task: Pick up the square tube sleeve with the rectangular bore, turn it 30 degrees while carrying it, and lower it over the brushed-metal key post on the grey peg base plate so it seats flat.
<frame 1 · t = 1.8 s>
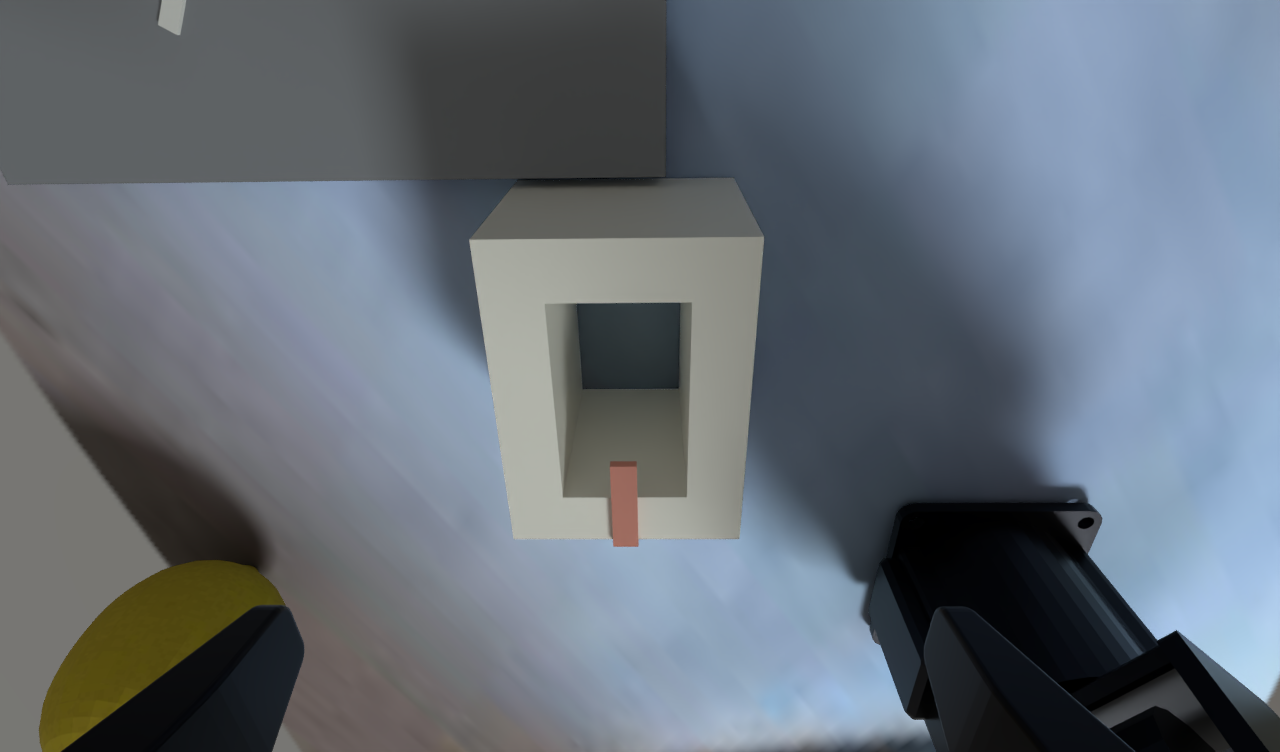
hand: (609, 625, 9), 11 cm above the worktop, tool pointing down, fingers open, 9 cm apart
lemon: (254, 565, 23), on the worktop
square tube sleeve: (628, 314, 18), on the worktop
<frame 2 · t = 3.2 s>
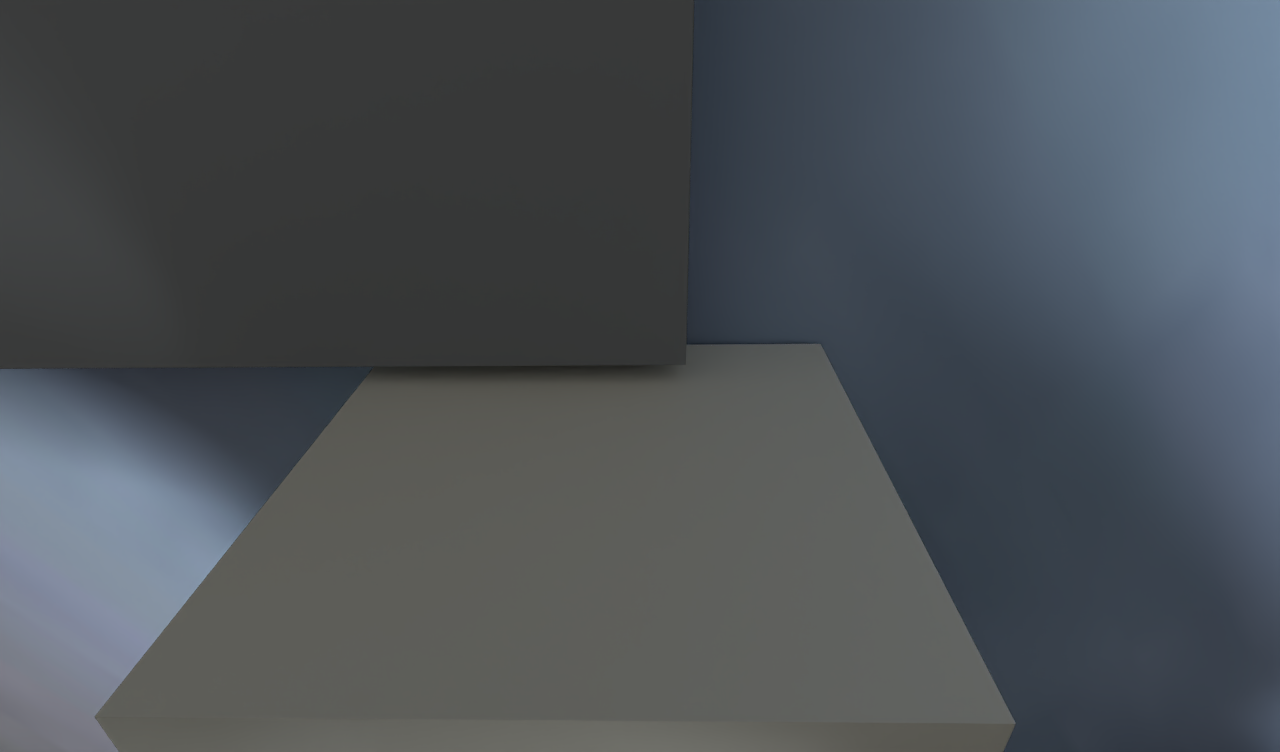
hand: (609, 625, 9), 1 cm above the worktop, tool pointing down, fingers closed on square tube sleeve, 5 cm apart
square tube sleeve: (614, 559, 10), on the worktop, touching gripper
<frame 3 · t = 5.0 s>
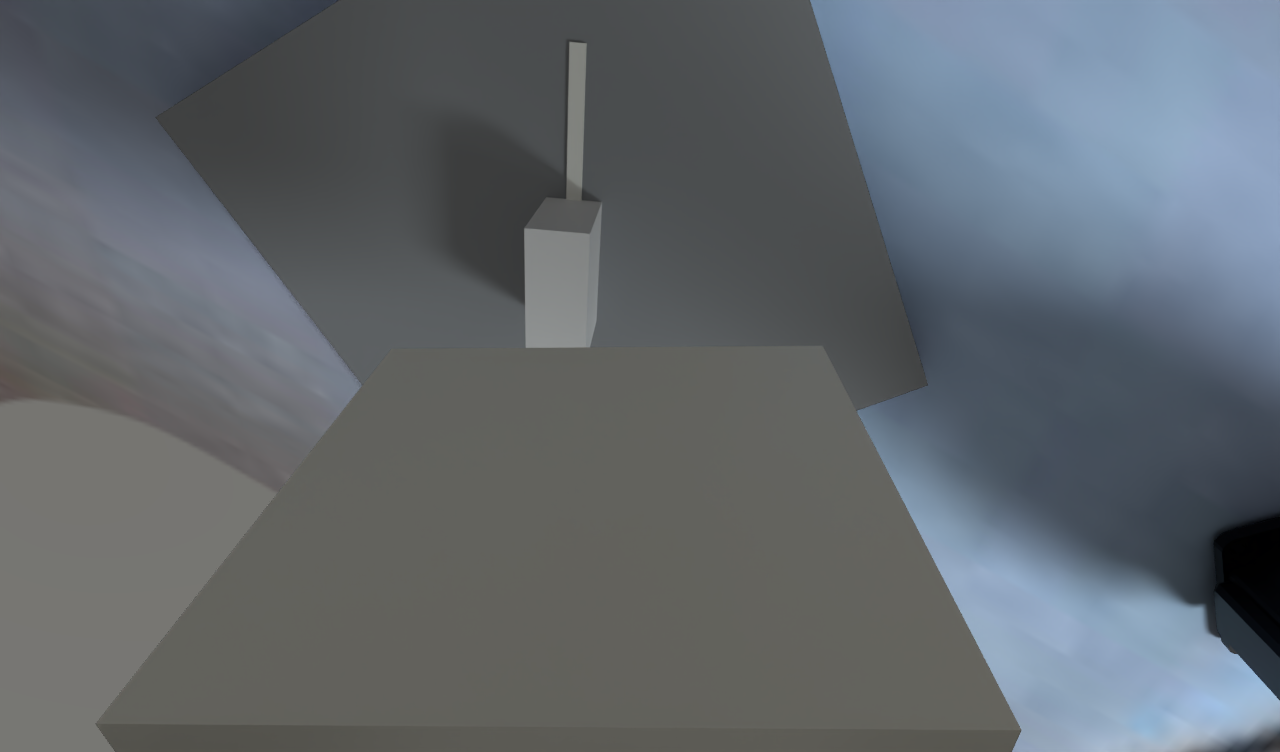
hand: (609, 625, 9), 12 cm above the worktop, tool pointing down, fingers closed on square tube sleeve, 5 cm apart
square tube sleeve: (615, 562, 10), point 11 cm above the worktop, touching gripper
grey peg base plate: (577, 251, 19), on the worktop
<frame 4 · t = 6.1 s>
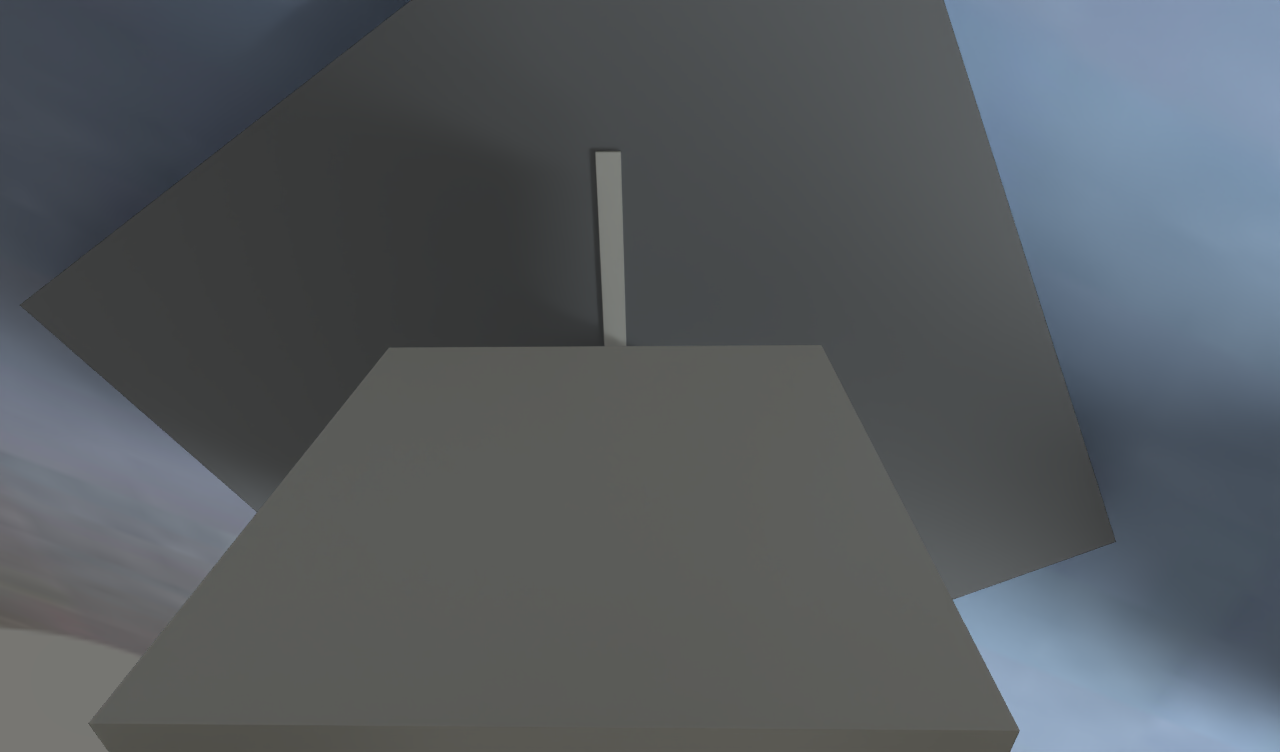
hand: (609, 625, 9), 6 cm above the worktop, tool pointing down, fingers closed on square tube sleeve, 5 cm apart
square tube sleeve: (613, 561, 10), point 4 cm above the worktop, touching gripper
grey peg base plate: (621, 408, 14), on the worktop
when the fingers open (4 cm above the worktop, at t = 6.8 s): square tube sleeve drops 2 cm, resting on grey peg base plate.
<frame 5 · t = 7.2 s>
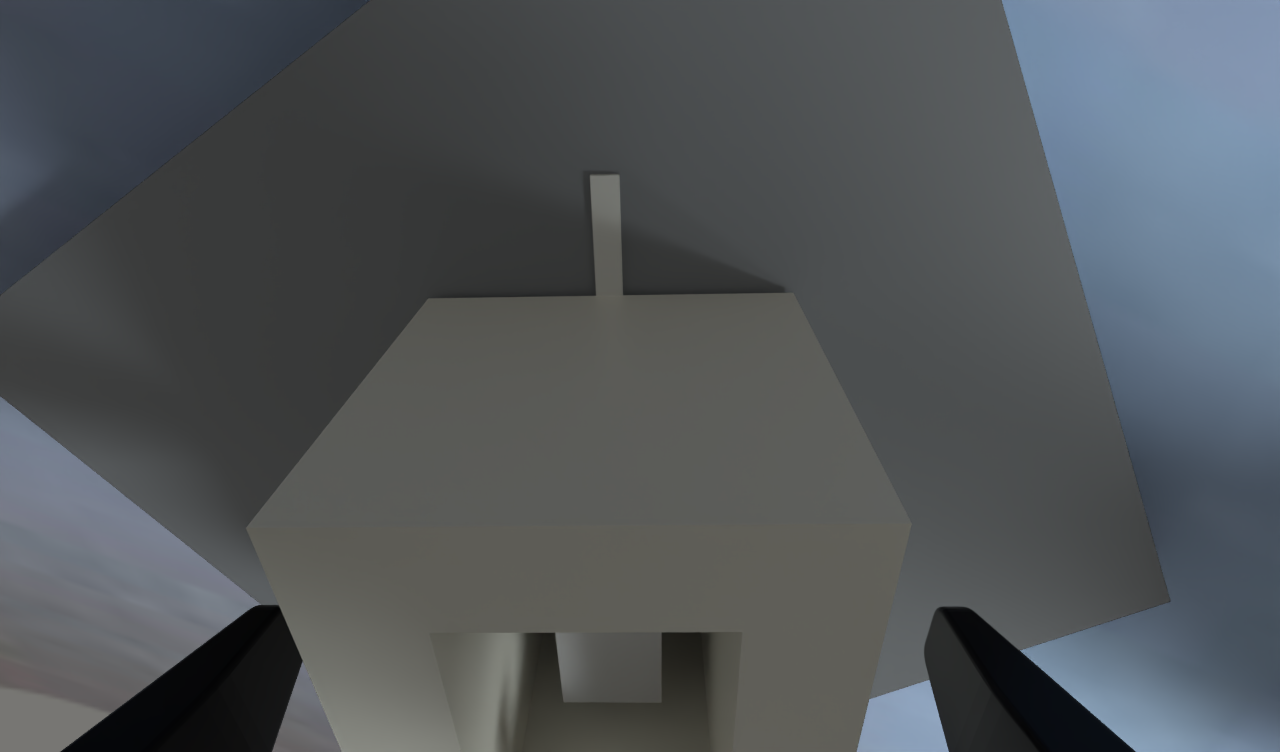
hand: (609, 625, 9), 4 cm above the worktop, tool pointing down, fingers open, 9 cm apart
square tube sleeve: (619, 490, 11), point 1 cm above the worktop, touching grey peg base plate
grey peg base plate: (620, 453, 12), on the worktop
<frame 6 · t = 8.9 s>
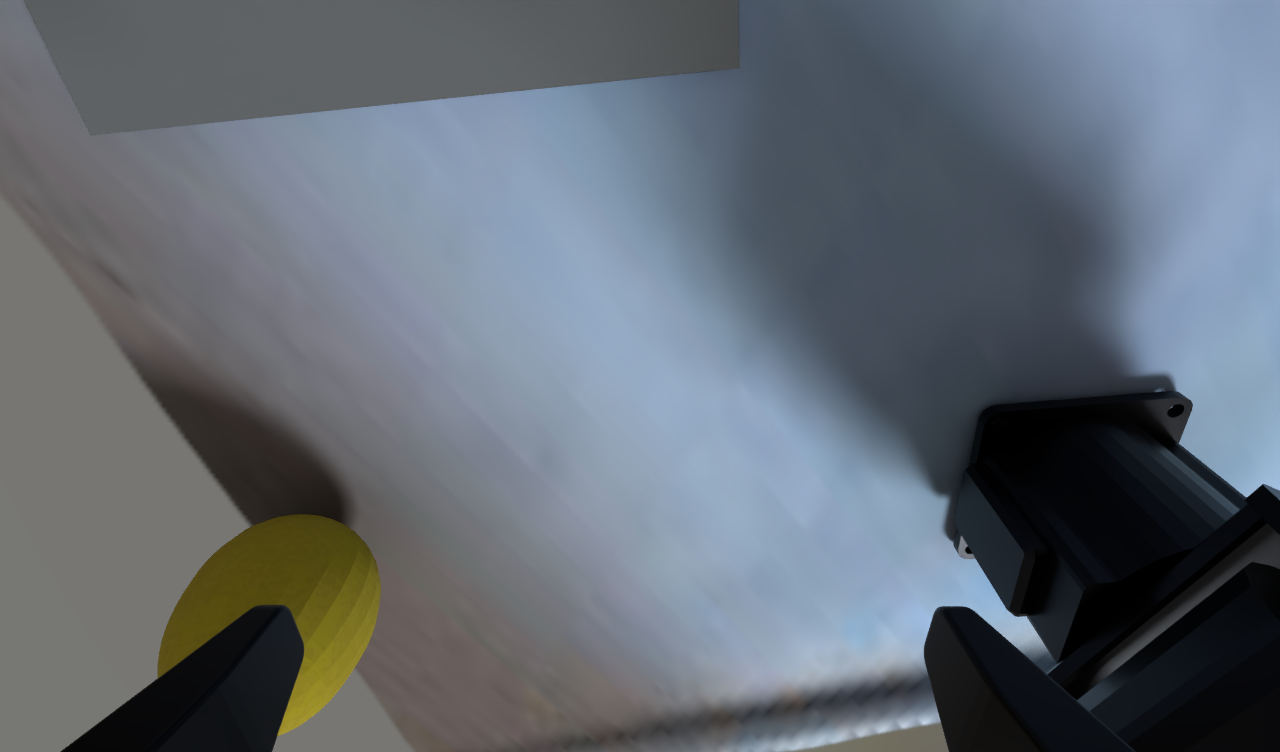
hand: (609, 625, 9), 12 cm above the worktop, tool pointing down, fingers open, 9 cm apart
lemon: (336, 523, 24), on the worktop
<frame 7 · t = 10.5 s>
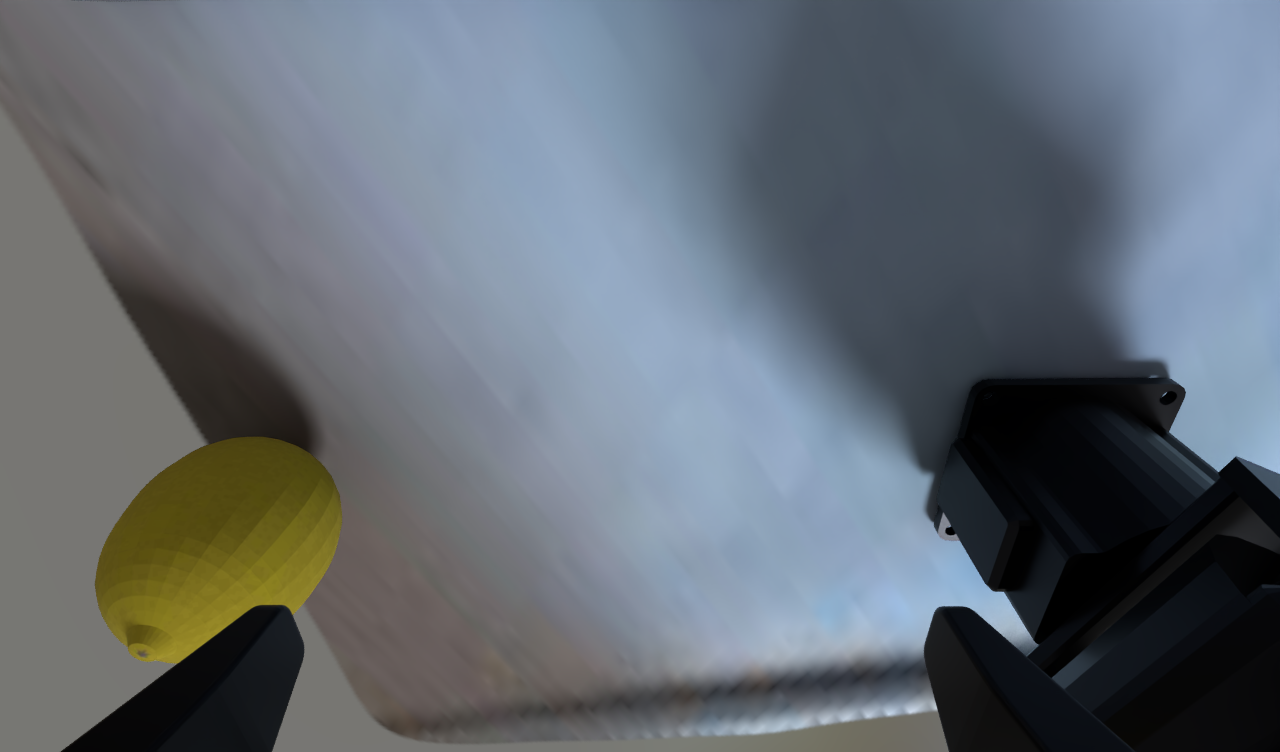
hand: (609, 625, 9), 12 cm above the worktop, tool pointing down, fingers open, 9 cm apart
lemon: (301, 455, 23), on the worktop
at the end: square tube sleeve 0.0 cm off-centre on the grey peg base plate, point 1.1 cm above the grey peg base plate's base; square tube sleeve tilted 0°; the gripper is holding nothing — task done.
